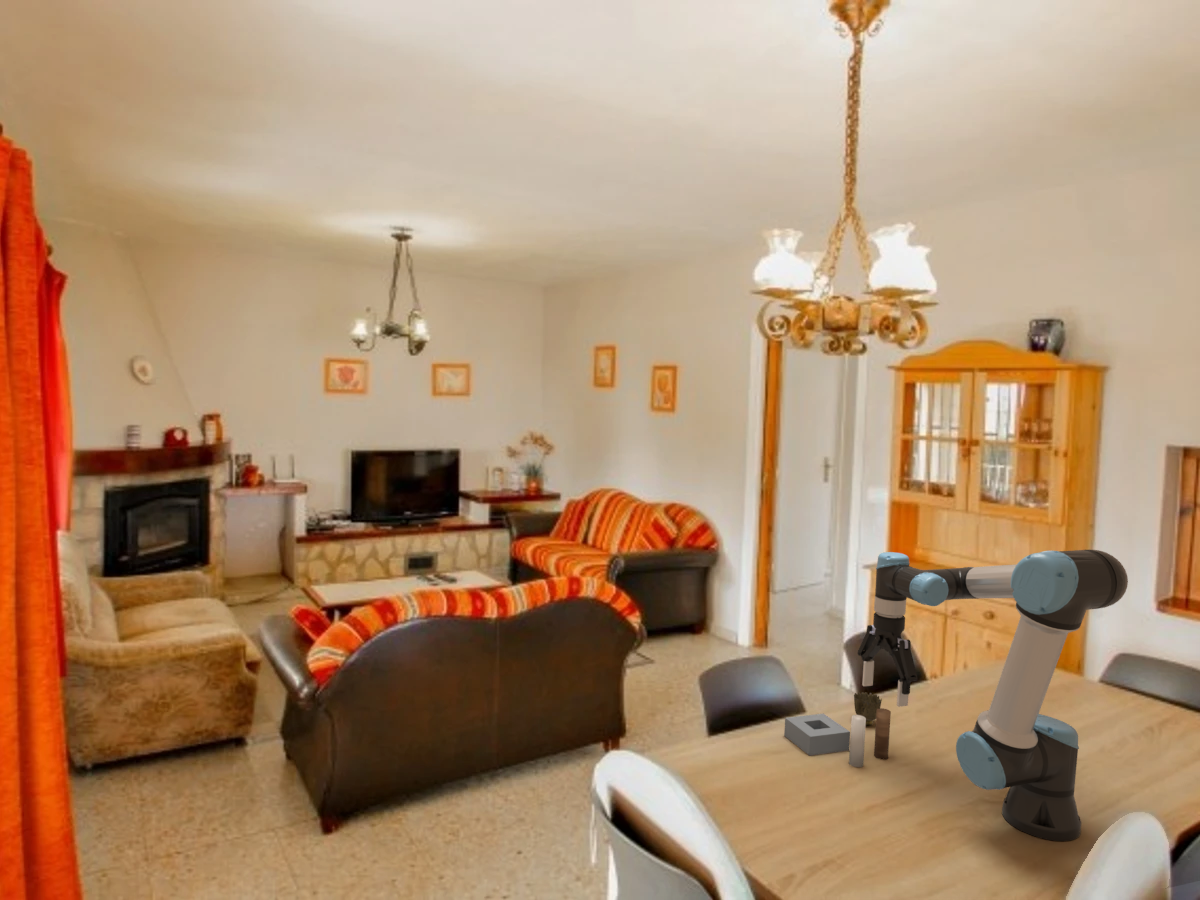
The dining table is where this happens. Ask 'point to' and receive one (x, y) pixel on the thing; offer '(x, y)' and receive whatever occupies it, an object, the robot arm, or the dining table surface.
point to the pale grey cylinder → (857, 740)
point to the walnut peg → (882, 733)
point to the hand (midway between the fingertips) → (884, 695)
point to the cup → (867, 706)
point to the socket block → (817, 734)
